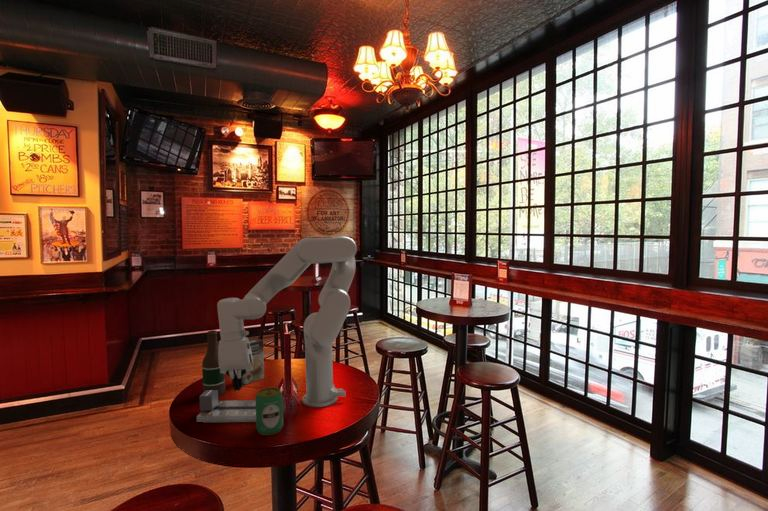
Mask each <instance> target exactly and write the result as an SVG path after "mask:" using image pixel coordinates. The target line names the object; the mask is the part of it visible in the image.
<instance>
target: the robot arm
mask: <svg viewBox="0 0 768 511" xmlns="http://www.w3.org/2000/svg"><path fill="white" fill-rule="evenodd" d="M357 247H358V246H357V243H356V242H355V240H354V239H353V238H352V237H350V236H346V235H335V236H333V237H332V236H331V237H303V238H301V239H300V240H298V241H297V242H296V243H295V245H293V246H292V247H291V249H290V250H289V251H287V253H286V254H285V255H284V256H283V257H281V259H280V260H279V261H278V262H277V263H276V264H275V265H274V266H273V267H272V268H271V269H270V270H269V271H268V272H267V273H266V275H264V276H263V277H262V278H261V279H259V281H258V282H257V283H256V284H255V285H254V286H253V287H252V288H251V289H250V290H249V291H248V293H247V294H245V295H244V297H243V299H240V298H238V297H227V298H223V299H220V300H219V301H218V302H217V304H216V306H217V315H218V316H217V317H218V322H219V323H218V325H219V335H220V336H219V337H220V340H219V342H218V349H219V350H218V360H219V368H220V373H223V374H225V375H227V376H229V377H230V380H231V381H232V382H231V383H232V388H233V390H234V392H236V391H241V389H242V388H243V387H244V384H243V375H244V374H245V373H246V372H250V371H252V370H253V367H252V363H253V357H252V351H251V347H250V343H249V340H250V339H249V337H248V336H249V334H250V333H249V332H250V331H249V330H246V329H245V324H244V323H245V322H244V320H256V319H257V320H258V319H260V318H262V317H263V316H265V314H266V311H267V304H268V303H269V302H270V301H271V300H272V298H274V297H275V296H276V295H277V294H278V293H279V292H280V291H282V290H284V289H285V288H288V287H290V286H291V285H292V284H294V283H295V282H296V280H298V278H299V277H300V276H301V275H302V274H304V271H306V269H308V268H309V267H310V265H312V264H330V263H331V264H332V265H331V269H330V272H329V275H328V277H327V278H326V282H325V283H324V286H323V287H322V289H321V290H320V292H319V295H318V304H319V306H320V307H319V309H318V312H317V311H316V312H312V313H311V314H309V315H308V316H307V317H306V318H305V320H304V322H303V340H304V351H305V352H304V353H305V358H304V360H305V386H306V387H305V388H306V389H305V390H306V391H305V392H306V394H304V395H303V396H302V398H301V402H302V404H304V406H307V407H310V408H323V407H329V406H331V405H334V404H335V403H337V401H338V398H339V397H346V390H344V388H336V387H335V386H336V385H335V384H334V372H333V369H334V366H333V343H334V341H335V340H336V339H337V337H338V335H339V333H340V331H341V329H342V327H343V325H344V322H345V320H346V319H347V316H348V314H349V312H350V308H351V302H352V301H351V298H350V295H349V294H348V292H349V290H350V287H351V285H352V283H353V280H354V277H355V274H356V270H357V269H356V268H357V266H356V265H357V263H356V258H355V256H356V254H357V251H358V248H357ZM236 370H238V373H236Z"/></svg>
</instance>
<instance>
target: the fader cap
mask: <svg viewBox="0 0 768 511" xmlns="http://www.w3.org/2000/svg"><path fill="white" fill-rule="evenodd" d="M218 401H219V396H218V390H206V391H205V392H204V393H203V392H202V393H201V394H200V395H199V411H203V410H213V409H214V408H215V407H216V406H217V405H218Z"/></svg>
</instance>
